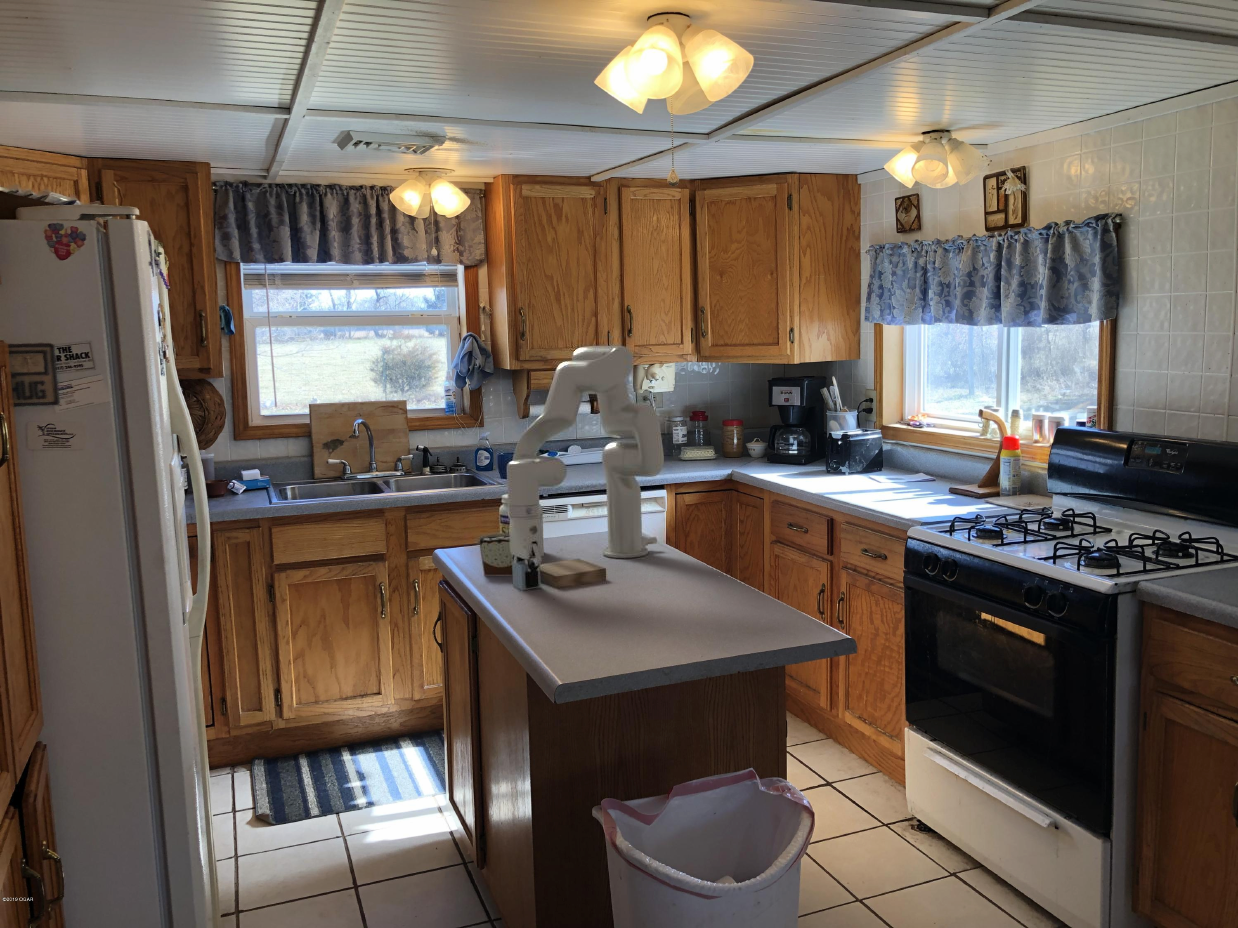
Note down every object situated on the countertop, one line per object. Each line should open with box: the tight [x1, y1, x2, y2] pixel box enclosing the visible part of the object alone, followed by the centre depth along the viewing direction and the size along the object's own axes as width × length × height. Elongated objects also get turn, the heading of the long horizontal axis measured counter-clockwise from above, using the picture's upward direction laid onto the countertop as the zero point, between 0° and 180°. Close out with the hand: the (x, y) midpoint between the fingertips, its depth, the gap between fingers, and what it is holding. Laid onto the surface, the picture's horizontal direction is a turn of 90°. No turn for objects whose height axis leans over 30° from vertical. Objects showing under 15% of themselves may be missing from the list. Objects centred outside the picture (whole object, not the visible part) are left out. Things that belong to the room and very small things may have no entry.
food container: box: [476, 532, 514, 577], centre depth 257 cm, size 12×6×10 cm, turn 84°
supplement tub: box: [498, 493, 544, 558], centre depth 279 cm, size 12×12×17 cm
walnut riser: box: [540, 558, 607, 589], centre depth 249 cm, size 14×14×3 cm
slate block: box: [512, 561, 542, 591], centre depth 241 cm, size 5×5×6 cm
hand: (526, 583), depth 242 cm, fingers closed on slate block, 5 cm apart
